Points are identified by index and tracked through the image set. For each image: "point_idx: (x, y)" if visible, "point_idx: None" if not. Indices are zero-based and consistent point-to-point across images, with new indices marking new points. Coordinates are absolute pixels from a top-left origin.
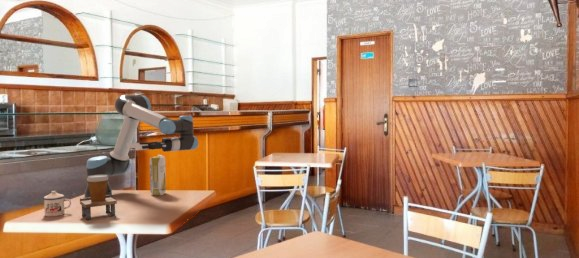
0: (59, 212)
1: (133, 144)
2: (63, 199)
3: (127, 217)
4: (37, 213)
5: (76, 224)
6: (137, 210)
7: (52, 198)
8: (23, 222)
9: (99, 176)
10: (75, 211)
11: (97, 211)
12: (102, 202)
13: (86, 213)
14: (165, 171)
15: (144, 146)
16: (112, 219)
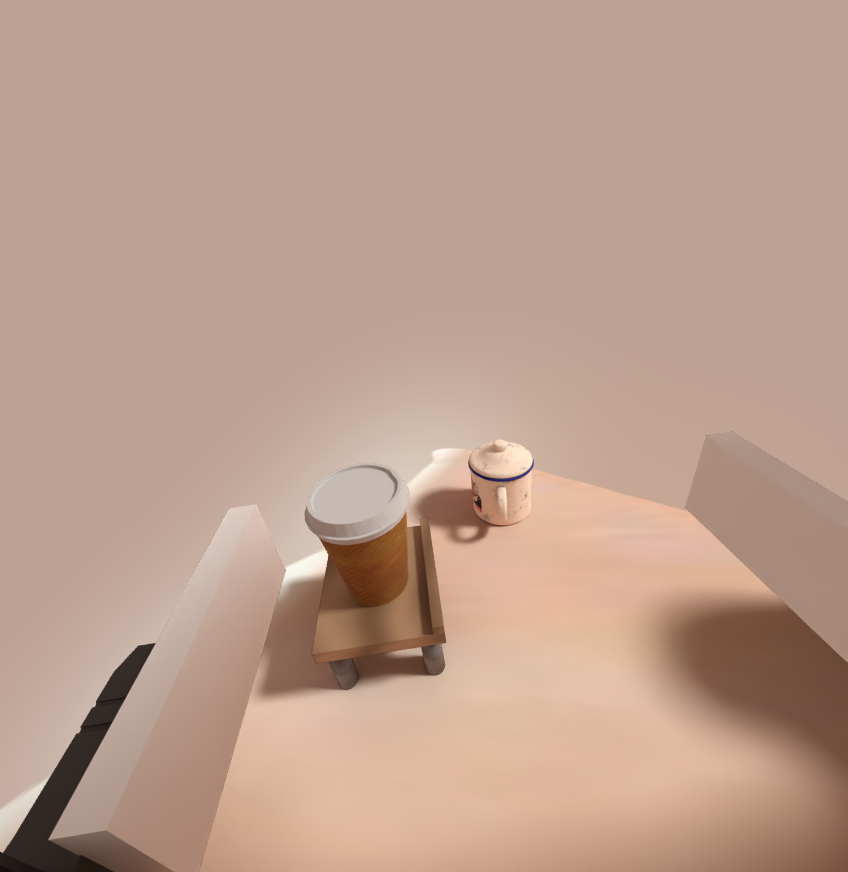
0: (477, 509)
1: (809, 536)
2: (494, 486)
3: (262, 745)
4: (539, 474)
5: (318, 557)
6: (387, 858)
7: (469, 458)
8: (439, 464)
9: (354, 499)
10: (524, 553)
11: (484, 623)
12: (322, 592)
13: None
14: None
15: (109, 700)
16: (286, 669)
